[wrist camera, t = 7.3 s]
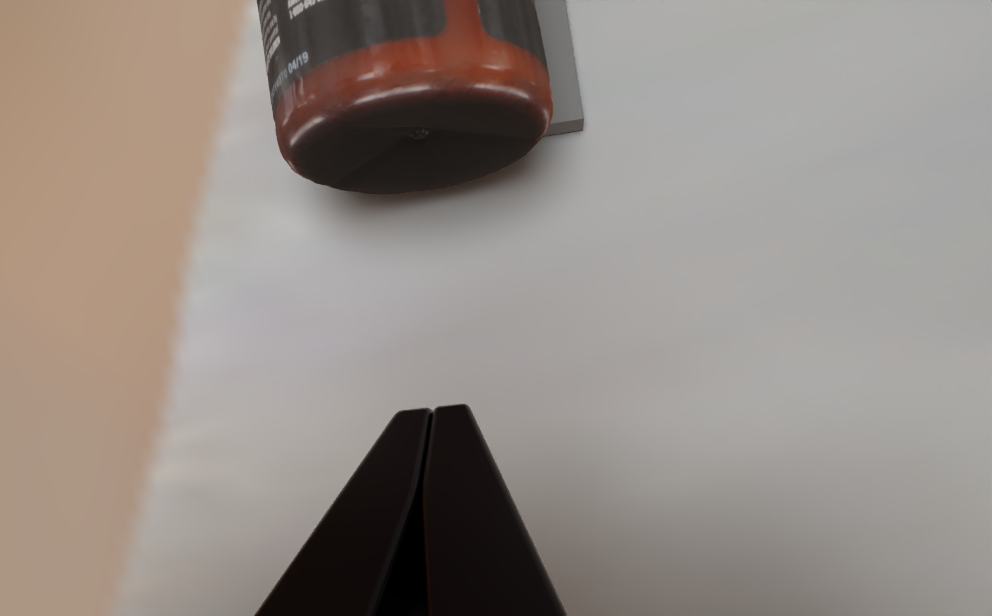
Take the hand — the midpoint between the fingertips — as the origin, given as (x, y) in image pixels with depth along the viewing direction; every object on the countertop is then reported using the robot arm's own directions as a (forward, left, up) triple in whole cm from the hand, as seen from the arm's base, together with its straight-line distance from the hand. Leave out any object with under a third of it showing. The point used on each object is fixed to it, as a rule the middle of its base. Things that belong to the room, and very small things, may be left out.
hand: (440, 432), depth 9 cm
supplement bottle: (+6, +1, -6) cm, 9 cm away
